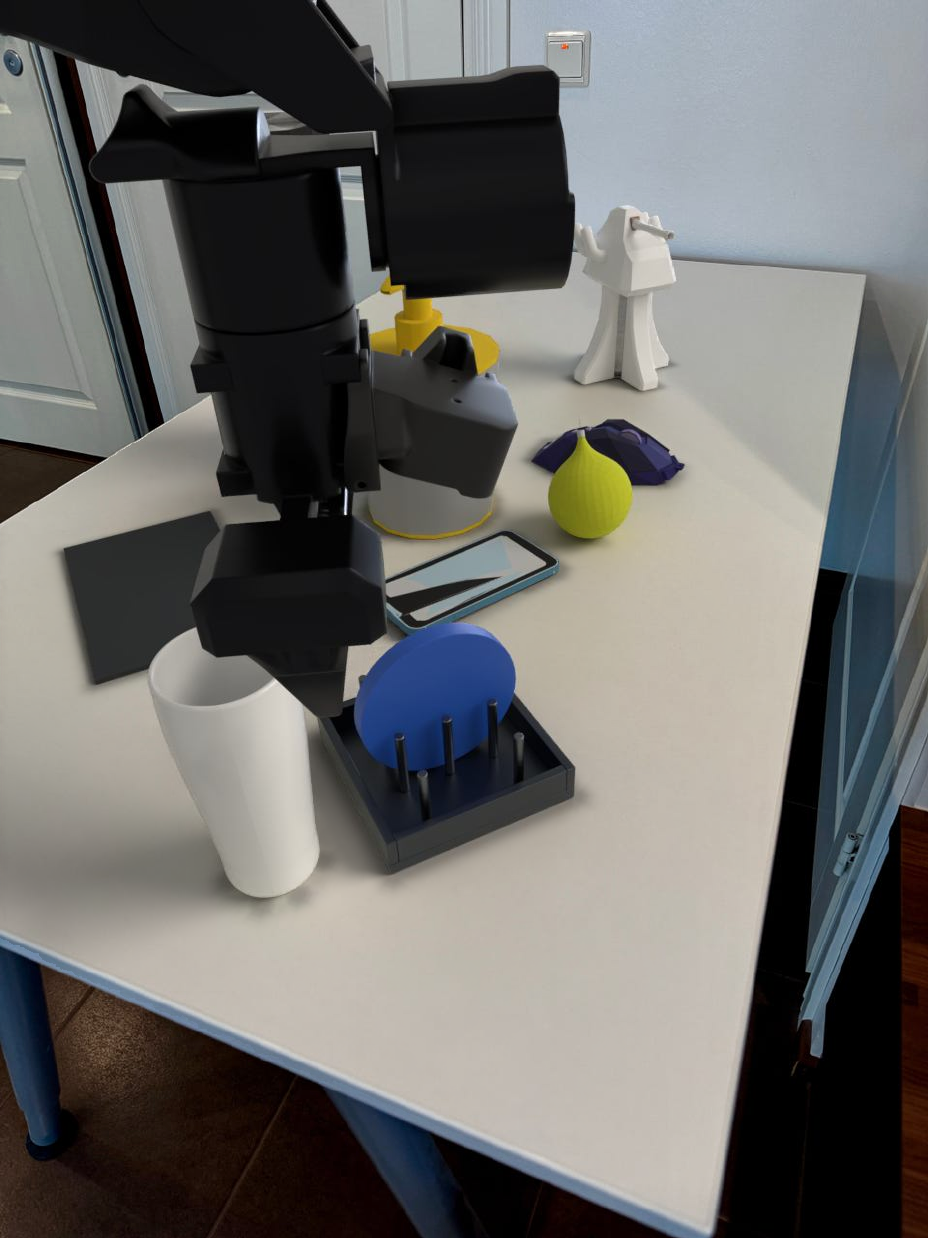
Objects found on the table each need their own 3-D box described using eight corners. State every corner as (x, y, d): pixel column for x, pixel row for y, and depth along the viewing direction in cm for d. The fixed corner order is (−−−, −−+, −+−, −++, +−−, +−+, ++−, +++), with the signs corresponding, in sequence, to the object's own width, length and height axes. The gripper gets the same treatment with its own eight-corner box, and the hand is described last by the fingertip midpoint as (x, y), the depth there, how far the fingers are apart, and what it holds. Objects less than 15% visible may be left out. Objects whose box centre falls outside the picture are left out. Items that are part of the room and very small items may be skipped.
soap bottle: (331, 513, 81) (296, 276, 68) (425, 459, 89) (410, 238, 76) (438, 560, 74) (421, 307, 61) (530, 497, 82) (532, 261, 69)
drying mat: (96, 684, 63) (94, 680, 63) (64, 551, 77) (63, 548, 77) (271, 630, 67) (271, 626, 67) (210, 514, 82) (210, 510, 81)
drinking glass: (279, 935, 46) (220, 731, 37) (188, 880, 49) (112, 679, 40) (357, 845, 51) (322, 643, 42) (269, 799, 54) (218, 602, 45)
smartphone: (565, 562, 71) (413, 633, 64) (564, 572, 72) (414, 643, 65) (507, 526, 76) (360, 588, 69) (507, 536, 77) (361, 598, 70)
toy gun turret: (610, 403, 98) (621, 231, 87) (552, 364, 107) (556, 205, 97) (699, 382, 101) (720, 215, 90) (635, 346, 111) (648, 191, 100)
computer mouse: (556, 430, 93) (557, 394, 90) (696, 454, 87) (701, 416, 85) (522, 469, 86) (522, 431, 84) (671, 497, 81) (675, 458, 78)
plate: (516, 737, 56) (516, 611, 50) (370, 793, 53) (351, 666, 47) (507, 725, 57) (506, 601, 51) (363, 780, 54) (343, 654, 47)
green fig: (565, 505, 80) (569, 402, 74) (640, 521, 78) (650, 415, 72) (534, 543, 75) (535, 436, 69) (612, 562, 73) (620, 452, 67)
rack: (574, 797, 53) (577, 734, 50) (390, 875, 49) (381, 812, 46) (483, 681, 62) (481, 621, 58) (320, 739, 58) (309, 678, 54)
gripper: (539, 395, 24) (534, 780, 34) (475, 227, 39) (484, 527, 48) (130, 425, 24) (243, 808, 33) (223, 243, 39) (282, 544, 48)
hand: (333, 646), depth 41 cm, fingers open, 9 cm apart
